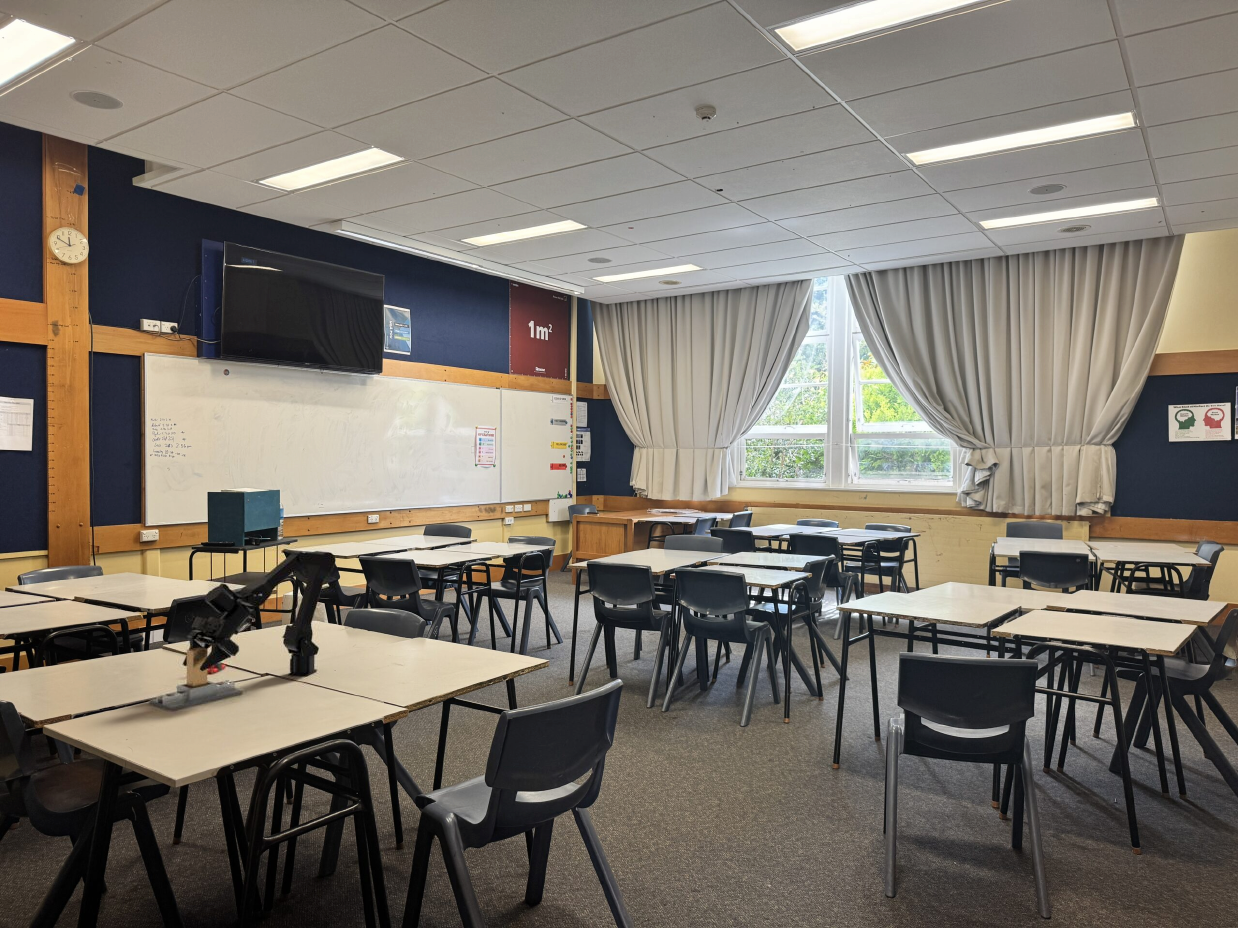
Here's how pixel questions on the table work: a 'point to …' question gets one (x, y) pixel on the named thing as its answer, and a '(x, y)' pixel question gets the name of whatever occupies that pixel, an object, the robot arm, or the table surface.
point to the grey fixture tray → (195, 695)
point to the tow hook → (216, 668)
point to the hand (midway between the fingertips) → (192, 667)
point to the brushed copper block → (196, 667)
